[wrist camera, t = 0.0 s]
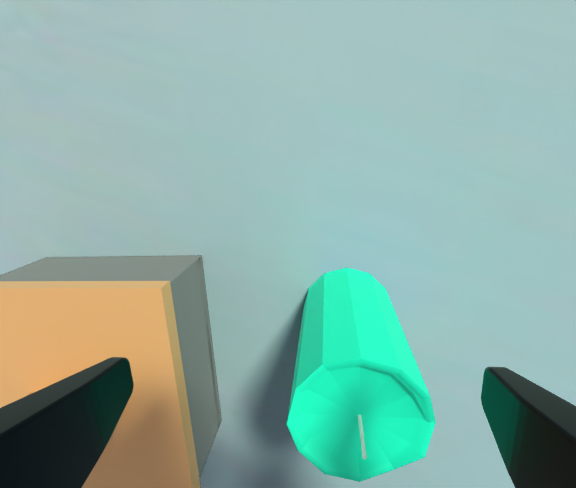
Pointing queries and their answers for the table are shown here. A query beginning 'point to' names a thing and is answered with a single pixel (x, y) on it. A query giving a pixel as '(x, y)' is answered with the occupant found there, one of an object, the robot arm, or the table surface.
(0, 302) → the lid
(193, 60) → the table surface
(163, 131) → the table surface
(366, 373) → the candle
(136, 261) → the tub
